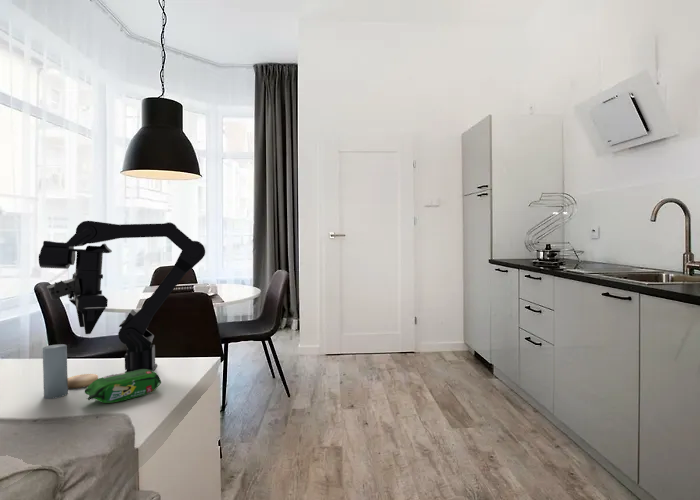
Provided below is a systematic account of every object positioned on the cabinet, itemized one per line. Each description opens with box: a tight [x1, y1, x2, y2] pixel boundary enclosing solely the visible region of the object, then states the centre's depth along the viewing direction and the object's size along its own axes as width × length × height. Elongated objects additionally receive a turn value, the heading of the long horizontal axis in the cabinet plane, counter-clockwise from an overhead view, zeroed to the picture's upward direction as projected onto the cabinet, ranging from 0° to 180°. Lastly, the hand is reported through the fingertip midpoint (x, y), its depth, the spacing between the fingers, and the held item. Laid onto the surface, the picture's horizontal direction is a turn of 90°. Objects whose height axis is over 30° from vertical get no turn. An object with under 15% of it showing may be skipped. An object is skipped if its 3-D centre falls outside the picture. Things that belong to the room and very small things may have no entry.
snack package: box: [84, 369, 162, 404], centre depth 95 cm, size 7×16×5 cm, turn 135°
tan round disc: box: [68, 373, 99, 390], centre depth 104 cm, size 7×7×1 cm
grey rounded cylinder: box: [42, 343, 69, 400], centre depth 96 cm, size 4×4×11 cm
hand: (84, 330), depth 109 cm, fingers open, 9 cm apart
